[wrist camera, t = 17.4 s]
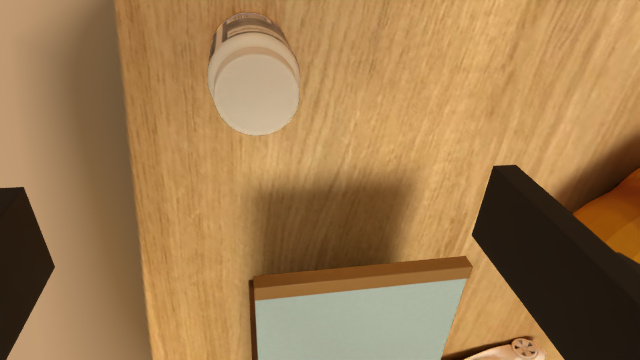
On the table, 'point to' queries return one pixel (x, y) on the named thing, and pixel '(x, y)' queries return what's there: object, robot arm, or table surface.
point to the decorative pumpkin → (616, 217)
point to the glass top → (360, 311)
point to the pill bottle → (253, 75)
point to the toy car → (513, 352)
